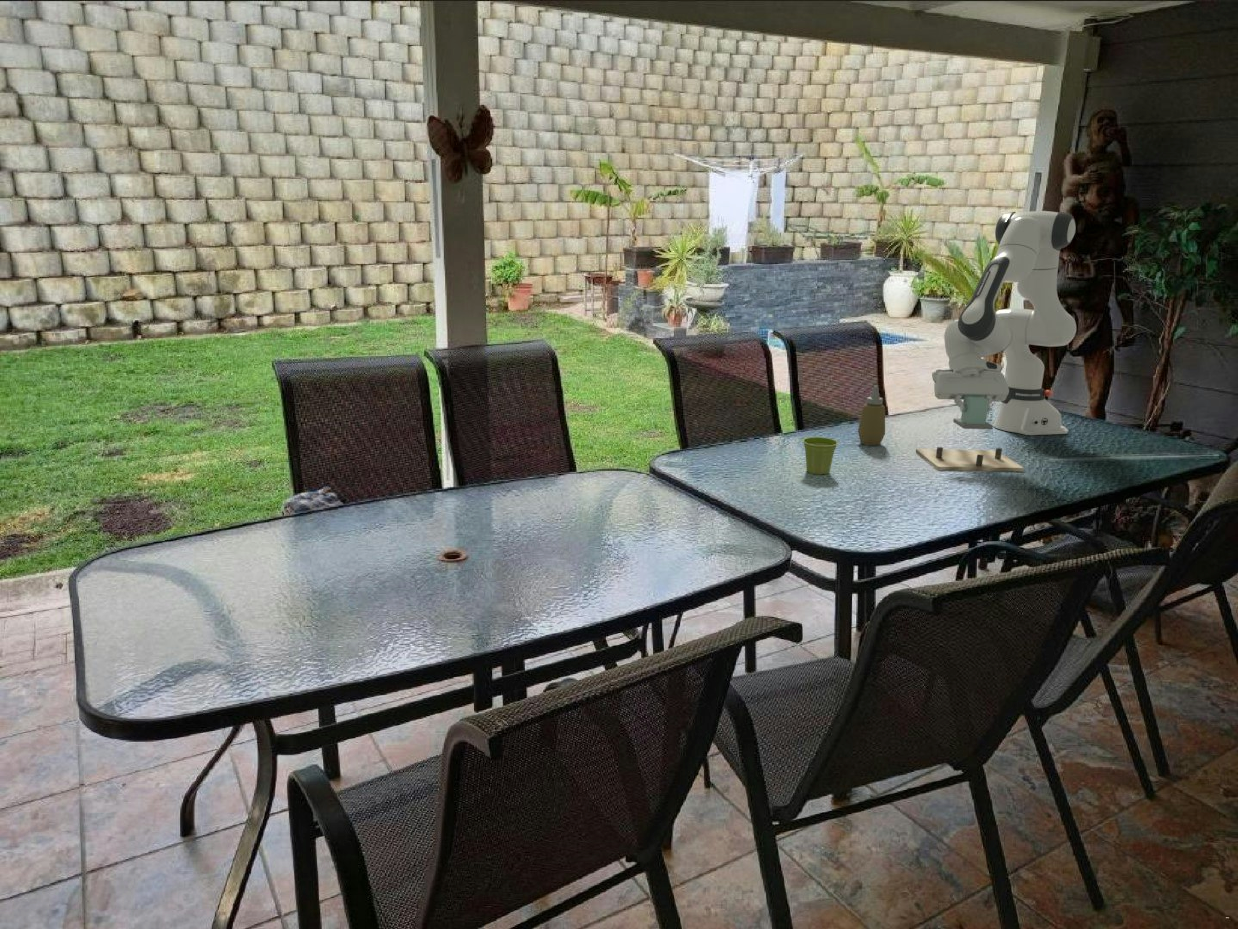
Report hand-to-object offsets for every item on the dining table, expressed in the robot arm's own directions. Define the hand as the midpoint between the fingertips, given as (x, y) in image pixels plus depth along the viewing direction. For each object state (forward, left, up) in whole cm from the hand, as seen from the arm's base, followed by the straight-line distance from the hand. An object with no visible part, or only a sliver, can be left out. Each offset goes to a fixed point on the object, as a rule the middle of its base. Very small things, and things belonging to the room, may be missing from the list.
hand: (975, 410), depth 243 cm
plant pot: (+46, +11, -15) cm, 50 cm away
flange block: (0, -1, -4) cm, 4 cm away
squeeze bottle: (+23, -19, -15) cm, 33 cm away
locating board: (0, -1, -15) cm, 15 cm away
